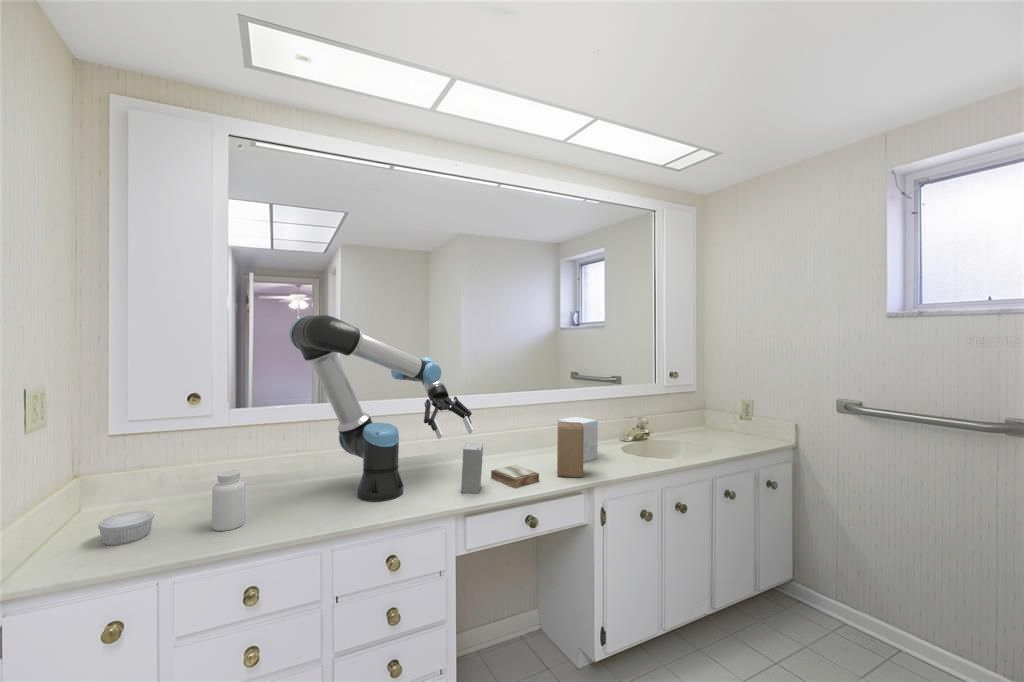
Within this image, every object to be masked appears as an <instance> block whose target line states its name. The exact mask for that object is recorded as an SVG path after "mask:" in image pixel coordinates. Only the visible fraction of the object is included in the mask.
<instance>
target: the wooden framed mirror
mask: <svg viewBox="0 0 1024 682" xmlns="http://www.w3.org/2000/svg"><path fill="white" fill-rule="evenodd" d="M490 473H491V474H490V479H491V480H494V481H496V482H499V483H501V484H503V485H506V486H509V487H511V488H514V489H515V488H519V487H523V486H528V485H531V484H534V483H538V482H539V481H540V473H539V472H536V471H534V470H531V469H527V468H524V467H521V466H520V465H517V464H514V465H509V466H506V467H500V468H496V469H492V470H490Z"/></svg>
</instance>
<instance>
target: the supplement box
mask: <svg viewBox="0 0 1024 682" xmlns="http://www.w3.org/2000/svg"><path fill="white" fill-rule="evenodd" d="M559 422H580V423H582V425H583V428H584V444H583V463H587V462H589V461H593V460H596V459H598V440H599V439H598V437H599V436H598V428H599V426H598V420H597V419H591V418H586V417H580V416H572V417H571V416H570V417H566V418H560V419H557V424H558V423H559ZM557 445H558V439H557ZM557 445H556V446H557Z"/></svg>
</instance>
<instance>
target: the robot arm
mask: <svg viewBox="0 0 1024 682" xmlns="http://www.w3.org/2000/svg"><path fill="white" fill-rule="evenodd" d="M361 331H362V330H361V329H360V328H357V327H356V326H353V325H352V324H350V323H347V322H345V321H343V320H342V319H339V318H337V317H334V316H332V315H328V314H319V315H306V316H303V317H299V318H298V319H297V320H295V321H294V322H293V323H292V325H291V327H290V329H289V339H290V342H291V344H292V345H293V346H294V347H295V348H296V349H298V350H299V351H300V353H301V354H302V357H303V358H304V360H305V362H308V363H311V364H312V366H313V369H314V371H315V373H316V375H317V378H318V379H319V381H320V384H321V385H322V388H323V390H324V393H325V394H326V397H327V398H328V401H329V402H330V405H331V407H332V409H333V411H334V414H335V416H336V418H337V420H338V426H337V431H338V433H339V435H338V442H339V445H340V446H341V448H342V449H343V450H344V451H345V452H346V453H348V454H350V455H352V456H355V457H359V458H361V459H362V461H363V464H362V468H363V469H362V475H361V479H360V481H359V484H358V487H357V498H358V499H360V500H362V501H366V502H384V501H390V500H393V499H397V498H398V497H400V496H402V495H403V494H404V483H403V480H402V477H401V474H400V471H399V454H400V453H399V452H400V450H399V445H400V444H399V443H400V442H399V441H400V435H399V429H398V427H397V426H396V425H394V424H391V423H388V422H386V423H385V422H373V421H372V418H371V416H370V414H369V413H367V412H364V411H363V409H362V407H361V404H360V403H359V400H358V398H357V396H356V393H355V390H354V388H353V386H352V384H351V382H350V380H349V378H348V377H349V376H348V374H347V372H346V371H345V369H344V367H343V364H342V362H341V359H340V356H339V354H341V355H344V356H346V357H347V356H348V357H349V356H351V355H353V356H355V357H358V358H360V359H363V360H365V361H369V362H371V363H373V364H375V365H378V366H381V367H383V368H387V369H389V370H390V374H391V376H392V378H393V379H394V380H399V381H410V382H418V383H419V382H421V383H422V385H423V387H424V389H425V391H426V392H425V393H426V394H427V396H428V398H429V399H428V398H427V399H426V400H425V402H424V407H425V410H424V416H423V417H424V419H423V423H424V424H427V425H428V426H430V427H431V430H432V431H433V432H434V433H435V435H436V437H437V439H438V440H440V439H441V438H442V436H443V431H442V429H441V427H440V424H439V422H438V421H437V420H436V419H435V418H436V416H437V414H438V412H439V411H440V412H442V411H449V412H452V413H454V414H456V415H457V416H458V417H460V418H462V422H463V424H464V427H465V429H466V431H467V432H468V434H469V435H471V434H472V433H473V431H475V430H474V427H473V426H472V421H471V419H470V417H471V415H472V413H473V412H471V410H469V408H467V407H466V406H465V405H464V404H463V403H462V402H461V401H460V400H459V398H457V396H454V397H453V398H450V396H449V393H448V390H447V388H446V385H445V383H444V382H443V380H442V378H441V376H442V368H441V366H440V365H439V364H438V363H436V362H435V363H434V361H433V359H432V358H431V357H428V356H427V357H426V356H423V357H420V358H419V357H417V356H414V355H412V354H410V353H408V352H405V351H403V350H400V349H398V348H396V347H393V346H392V345H389V344H387V343H385V342H383V341H379V340H378V339H377V338H373V337H371V336H368V335H366V334H364V333H362V332H361ZM432 406H433V407H434V410H433V412H432V414H431V417H430V413H431V407H432Z"/></svg>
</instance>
